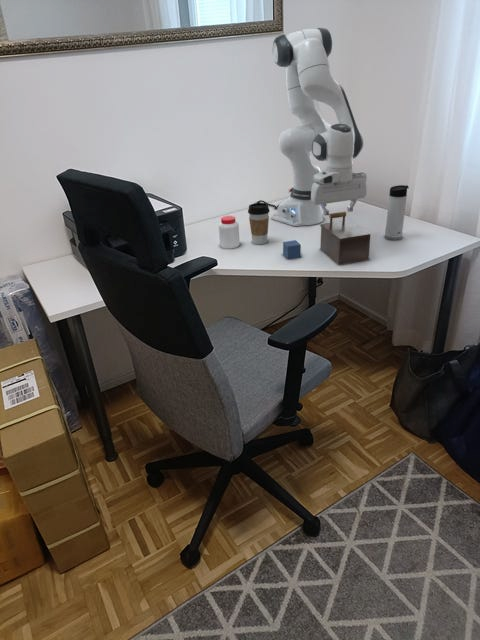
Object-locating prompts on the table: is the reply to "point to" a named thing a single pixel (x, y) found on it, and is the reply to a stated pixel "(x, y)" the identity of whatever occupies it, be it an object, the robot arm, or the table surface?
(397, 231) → the travel mug
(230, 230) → the pill bottle
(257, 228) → the coffee cup
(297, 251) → the block
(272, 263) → the table surface
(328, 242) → the chest
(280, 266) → the table surface
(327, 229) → the lid
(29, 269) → the table surface
